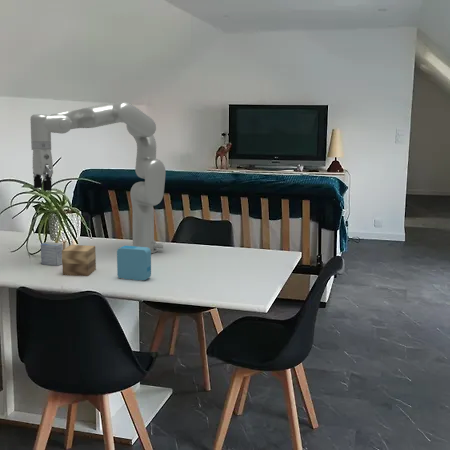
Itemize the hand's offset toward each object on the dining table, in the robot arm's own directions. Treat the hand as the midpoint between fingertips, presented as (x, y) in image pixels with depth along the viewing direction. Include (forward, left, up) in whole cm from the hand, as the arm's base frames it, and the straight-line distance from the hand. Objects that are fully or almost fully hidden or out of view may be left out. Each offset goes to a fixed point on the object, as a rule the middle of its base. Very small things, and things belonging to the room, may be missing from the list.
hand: (42, 189), depth 238 cm
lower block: (-17, +10, -31) cm, 37 cm away
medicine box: (-2, -1, -31) cm, 31 cm away
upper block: (-17, +10, -26) cm, 33 cm away
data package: (-40, +16, -31) cm, 54 cm away
